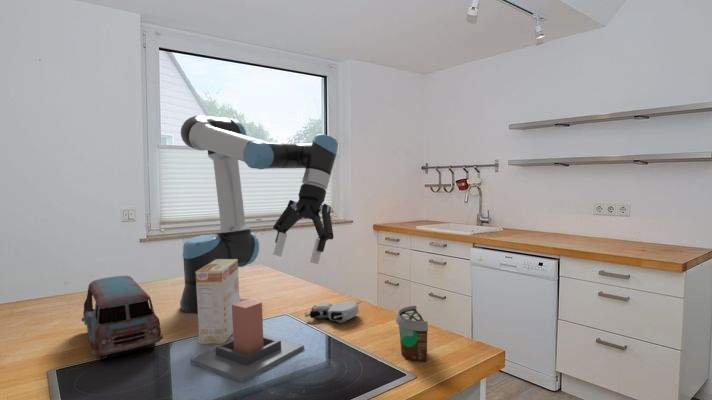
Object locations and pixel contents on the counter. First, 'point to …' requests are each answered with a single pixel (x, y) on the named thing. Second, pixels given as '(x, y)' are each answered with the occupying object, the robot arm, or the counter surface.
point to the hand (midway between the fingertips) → (295, 259)
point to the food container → (412, 334)
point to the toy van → (119, 316)
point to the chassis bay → (246, 358)
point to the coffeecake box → (216, 300)
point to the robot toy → (334, 311)
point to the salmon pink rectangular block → (247, 326)
